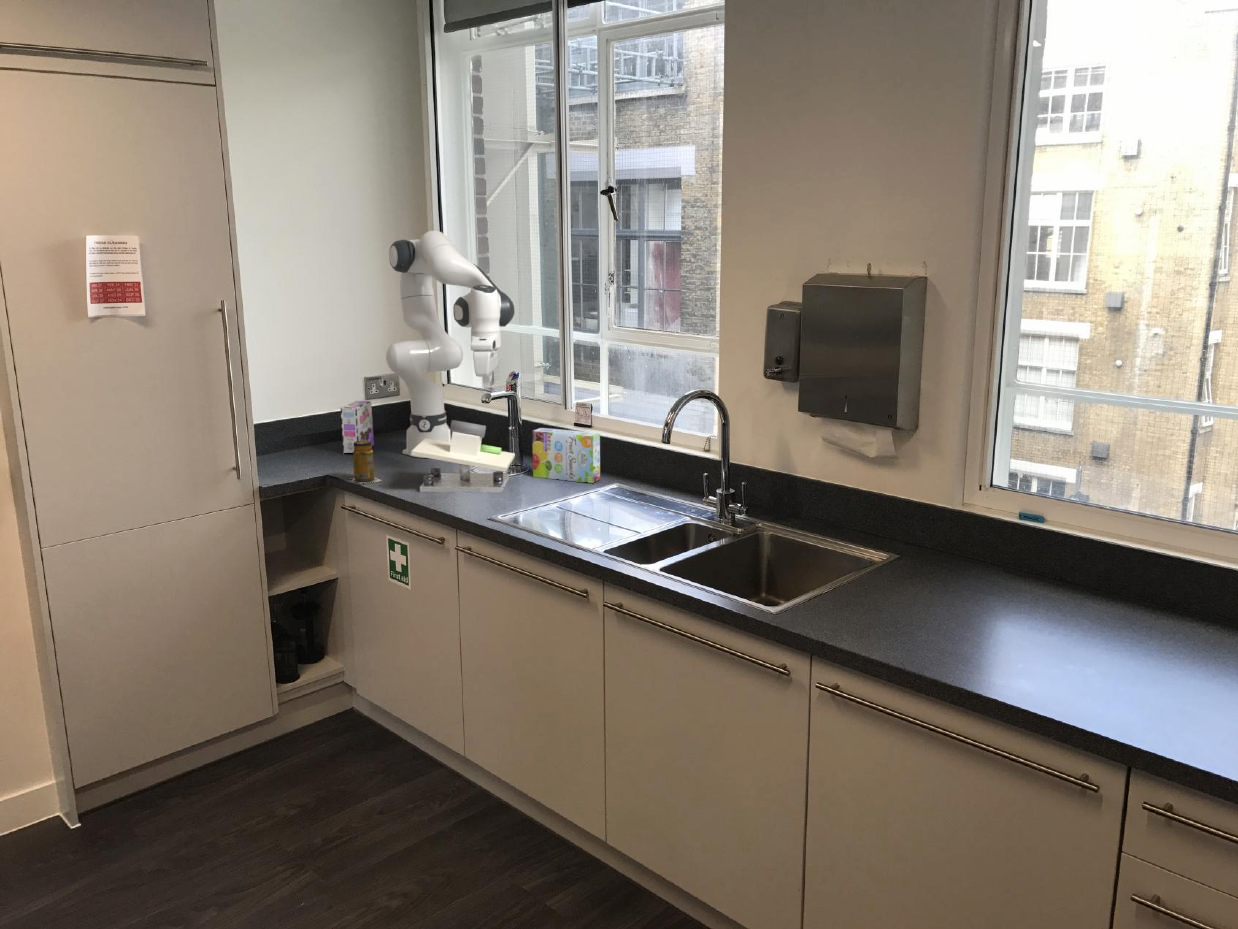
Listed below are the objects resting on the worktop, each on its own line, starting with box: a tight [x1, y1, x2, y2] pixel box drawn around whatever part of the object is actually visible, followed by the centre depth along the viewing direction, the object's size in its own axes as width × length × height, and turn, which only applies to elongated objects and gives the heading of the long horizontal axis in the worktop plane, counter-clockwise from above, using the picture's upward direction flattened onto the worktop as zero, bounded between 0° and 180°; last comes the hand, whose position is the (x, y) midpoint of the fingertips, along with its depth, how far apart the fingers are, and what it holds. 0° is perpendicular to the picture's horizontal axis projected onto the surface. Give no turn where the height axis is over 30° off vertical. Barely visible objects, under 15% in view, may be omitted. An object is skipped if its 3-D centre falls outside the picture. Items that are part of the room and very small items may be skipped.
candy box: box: [340, 400, 375, 454], centre depth 349 cm, size 14×6×16 cm, turn 171°
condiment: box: [350, 441, 383, 485], centre depth 309 cm, size 7×8×12 cm
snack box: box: [531, 427, 601, 484], centre depth 310 cm, size 21×6×15 cm, turn 65°
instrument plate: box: [411, 419, 516, 472], centre depth 301 cm, size 28×18×10 cm, turn 88°
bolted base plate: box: [419, 464, 510, 493], centre depth 304 cm, size 24×16×8 cm, turn 88°
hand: (487, 387), depth 302 cm, fingers closed
